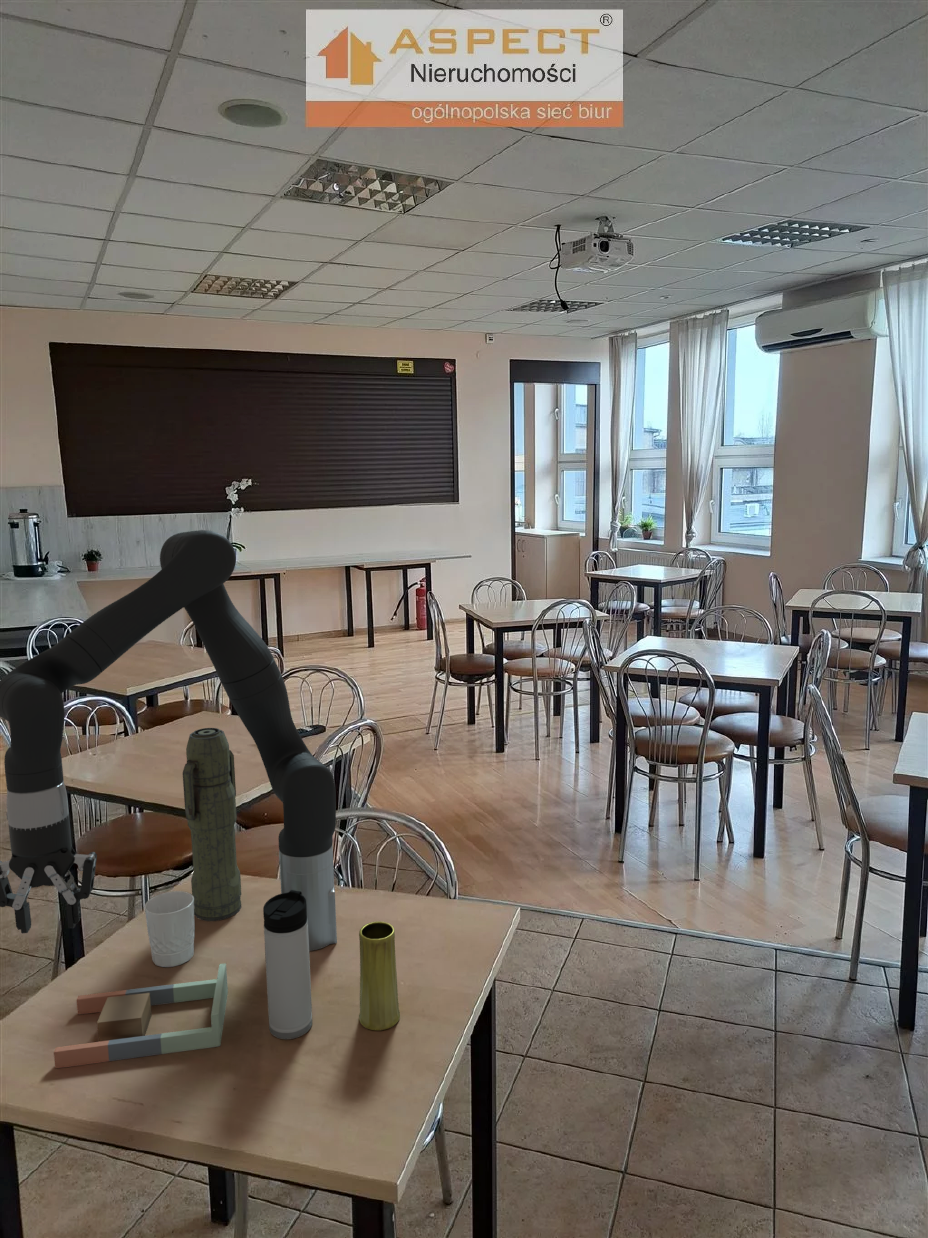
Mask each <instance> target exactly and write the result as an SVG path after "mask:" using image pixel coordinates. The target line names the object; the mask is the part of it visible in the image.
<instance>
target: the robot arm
mask: <svg viewBox="0 0 928 1238" xmlns="http://www.w3.org/2000/svg"><path fill="white" fill-rule="evenodd" d="M159 564H160V568H161V569H160V570H159V572H157V573H156V574H155V575H153V576H152V577H151V578H150V579H148V580H147V581H146V582H144V583H143V584H141V585H139V587H137V588H136V589H134V590H132V591H131V592H129V593H127V594H125V595H124V596H122V597H120V598H119V599H117V600H115V601H113V602H112V603H110V604H108V605H106V606H105V607H103V608H102V609H99V610H98V611H97V612H95V613H94V614H92V615H90V616H89V617H88V618H87V619H86V620H83V622H82V623H80V624H79V625H78V626H76V627H75V628H74V629H73V630H71V631H69V633H68V634H67V635H65V636H64V637H62V638H61V640H59V641H58V642H57V643H56V644H55V645H53V646H51V647H50V648H47V649H46V650H44V651H42V652H39V653H38V654H36V655H35V656H33V657H31V658H30V659H28V660H26V661H25V662H23V663H21V664H19V665H18V666H17V667H15V668H13V669H12V670H11V671H9V672H8V673H7V674H6V675H4V677H2V678H1V680H0V718H2V719H3V720H4V721H6V722H8V725H9V734H10V747H8V748H7V750H6V751H5V753H4V761H3V763H4V765H3V766H4V773H5V774H4V775H5V785H6V814H5V815H6V820H7V825H8V834H9V844H10V853H11V858H9V860H4V861H1V860H0V908H6V907H8V908H12V909H13V910H14V919H15V928H17V931H19V930H20V931H21V934H28V933H29V931H30V930H31V929H32V917H31V906H30V902H29V901H27V899H28V897H29V895H30V892H31V889H33V888H38V887H39V888H40V887H42V886H46V887H53V886H54V887H55V888H56V890H57V891H58V893H60V894H61V895H62V896H63V898H64V899H65V901H66V904H65V909H66V916H67V918H66V919H67V920H66V921H67V928H68V929H74V928H76V925H77V924H79V922H80V919H81V917H82V907H81V900H86V899H88V898H90V895H91V894H92V891H93V890H94V886H95V885H94V884H95V877H96V876H95V875H96V869H97V868H96V867H97V860H98V859H97V858H98V854H97V852H95V851H91V852H89V853H88V854H83V853H81V854H80V853H79V854H78V853H77V852H76V851H75V849H74V848H73V846H72V834H71V824H70V821H71V820H70V812H69V802H68V792H67V789H66V786H65V779H64V770H63V769H64V768H63V760H62V753H61V750H62V749H61V748H62V743H63V740H64V739H63V735H64V727H65V713H66V712H65V703H64V698H63V696H62V694H63V693H64V692H66V691H68V689H70V688H72V687H74V686H77V685H85V684H87V683H90V682H91V681H93V680H94V679H96V678H97V677H98V676H100V675H101V673H103V672H104V671H106V669H108V668H109V667H110V666H112V665H113V664H114V663H115V662H116V661H118V660H119V658H121V657H122V656H123V655H124V654H125V653H126V652H128V651H129V650H130V649H132V648H133V647H134V646H135V645H136V644H137V643H139V642H140V641H141V640H142V639H143V638H145V636H147V635H148V634H150V633H151V632H152V631H153V630H154V629H156V628H157V627H159V626H160V625H161V624H162V623H164V622H165V621H166V620H168V619H169V618H171V617H172V616H174V614H176V613H178V612H179V611H181V610H182V609H184V610H185V611H186V613H187V615H188V616H189V618H190V619H191V622H192V623H193V625H194V626H195V627H194V628H195V629H196V632H197V633H198V635H199V638H200V640H201V642H202V645H203V646H204V649H205V652H206V653H207V655H208V657H209V659H210V661H211V664H212V665H213V667H214V669H215V672H216V675H217V677H218V679H219V681H220V683H221V685H222V687H223V689H224V691H225V694H226V695H227V697H228V699H229V701H230V703H231V705H232V706H233V708H234V710H235V712H236V714H237V715H238V717H239V720H240V721H241V722H242V724H243V725H244V727H245V729H246V730H247V732H248V733H249V735H250V736H251V738H252V740H253V742H254V744H255V745H256V748H257V750H258V753H259V755H260V757H261V761H262V763H263V766H264V768H265V772H266V775H267V778H268V780H269V784H270V787H271V790H272V791H273V793H274V794H275V796H276V797H277V799H278V800H280V801H281V803H282V806H283V812H282V813H283V828H282V829H281V830H280V832H279V833H278V840H277V841H278V859H279V860H278V861H279V874H280V876H279V877H280V878H279V879H280V894H282V893H288V892H289V891H290V890H295V891H301V892H302V895H303V896H304V897H305V898H306V902H307V919H308V938H309V952H312V951H316V950H321V949H323V948H325V947H327V946H329V945H333V944H337V943H338V937H337V935H338V933H337V915H336V914H337V912H336V911H337V910H336V889H335V874H334V873H335V869H334V849H333V848H334V845H333V844H334V842H333V839H334V838H333V836H334V833H335V830H336V827H337V826H336V824H337V809H336V808H337V793H336V791H337V790H336V782H335V778H334V776H333V775H334V774H333V772H332V771H331V770H330V769H329V768H328V767H327V765H325V764H323V763H322V762H321V761H320V760H318V759H317V758H316V757H315V756H314V755H313V754H312V752H311V751H310V749H309V748H308V746H307V745H306V743H305V741H304V740H303V739H302V736H301V735H300V733H299V731H298V730H297V728H296V725H295V723H294V720H293V716H292V713H291V707H290V701H289V700H290V699H289V696H288V695H289V694H288V690H287V686H286V683H285V681H284V677H283V675H282V672H281V671H280V668H279V666H278V664H277V662H276V660H275V658H274V655H273V654H272V652H271V650H270V648H269V647H268V645H267V644H266V642H265V641H264V639H262V637H261V636H260V635H259V634H258V632H257V631H256V630H255V629H254V627H253V626H252V625H251V624H250V623H249V621H247V620H246V619H245V618H244V616H243V615H241V613H240V612H239V611H238V609H237V607H235V605H234V603H233V602H232V600H231V598H230V595H229V594H228V592H227V589H226V586H225V584H224V583H226V581H227V582H228V580H229V578H231V577H232V574H233V573H234V571H235V568H236V564H237V556H236V550H235V548H234V546H233V544H232V542H231V541H230V540H229V539H228V538H227V537H226V536H224V535H223V534H222V533H219V532H216V531H213V530H206V529H205V530H204V529H200V530H191V531H182V532H179V533H175V534H173V535H172V536H170V537H168V538H167V539H166V540H165V541H164V543H162V546H161V550H160V553H159ZM74 864H76V865H77V866H78V867H77V868H78V870H79V871H80V872H82V876H81V883H80V885H81V886H80V887H78V885H77V883H76V882H75V878H74V876H73V874H72V872H71V871H70V869H71V867H72V866H73V865H74ZM10 870H11V871H12V872H13V873H14V874H15V875H16V876H17V877H18V878H19V879H20V883H19V885H18V888H17V891H16V893H13V889H12V886H11V884H10V880H9V878H8V875H9V874H10Z"/></svg>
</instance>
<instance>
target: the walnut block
mask: <svg viewBox="0 0 928 1238" xmlns="http://www.w3.org/2000/svg"><path fill="white" fill-rule="evenodd" d="M151 1018H152V1005H151V1003H150V993H143V994H134V995H125V996H116V997H108V998H107V1000H106V1003H105V1005H104V1007H103V1010H102V1012H100V1015H99V1017H98V1020H97V1022H96V1024H97V1025H96V1027H97V1036H98V1042H101V1041H108V1040H116V1039H123V1038H131V1037H139V1036H146V1035H147V1031H148V1028H149V1024H150V1022H151Z"/></svg>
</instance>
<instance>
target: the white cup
mask: <svg viewBox="0 0 928 1238" xmlns="http://www.w3.org/2000/svg"><path fill="white" fill-rule="evenodd" d="M144 913H145V921H146V927H147V935H148V941H149V943H148V944H149V946H150V951H151V952H150V953H151V960H152V962H153V963H154V964H155V966H158V967H162V968H172V967H177V966H180V965H183V964H185V963H187V962H188V961H190V960H191V959H192V958H193V956H194V953H195V929H196V928H195V915H194V897H193V895H192V893H190V892H188V891H183V890H174V891H172V890H171V891H166V892H163V893H162V892H161V893H159V894H157V895H155V896H153V897H151V898H149V899H148V900H147V901H146V902H145V903H144Z"/></svg>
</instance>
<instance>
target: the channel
mask: <svg viewBox="0 0 928 1238" xmlns="http://www.w3.org/2000/svg"><path fill="white" fill-rule="evenodd" d="M217 970H218V971H217V976H216V978H215V979H206V980H197V981H188V982H182V983H181V982H180V983H174V984H165V985H157V986H156V985H154V986H149V987H139V988H132V989H123V990H122V989H121V990H113V991H105V992H98V993H91V994H81V995H80V994H79V995H78V996H77V997H76V1008H77V1015H83V1014H84V1015H86V1014H95V1013H101V1012H102V1010H103V1007H104V1005H105V1003H106V1000H107V998H108V997H116V996H125V995H134V994H143V993H150V1003H151V1006H158V1005H165V1004H166V1005H167V1004H174V1003H183V1002H190V1001H197V1000H198V1001H199V1000H206V999H213V1000H212V1007H211V1012H210V1013H211V1014H210V1021H211V1022H210V1023H211V1026H209V1027H200V1028H194V1029H186V1030H185V1029H184V1030H178V1031H168V1032H162V1033H156V1034H145V1036H139V1037H131V1038H123V1039H116V1040H108V1041H101V1042H99V1041H96V1042H88V1043H79V1044H71V1045H64V1046H63V1045H62V1046H56V1047H55V1048H54V1051H53V1057H54V1058H53V1059H54V1068H55V1069H60V1068H69V1067H76V1066H84V1065H90V1064H97V1063H99V1064H100V1063H107V1062H112V1061H121V1060H127V1059H135V1058H142V1057H149V1056H150V1057H151V1056H158V1055H165V1054H173V1053H181V1052H185V1051H188V1052H189V1051H193V1050H194V1051H195V1050H202V1049H210V1048H215V1047H221V1044H222V1043H221V1042H222V1036H223V1029H224V1022H225V1017H226V1015H225V1013H226V1009H227V1001H228V995H229V988H228V972H227V971H228V969H227V962H226V963H219V966H218V969H217Z"/></svg>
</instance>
